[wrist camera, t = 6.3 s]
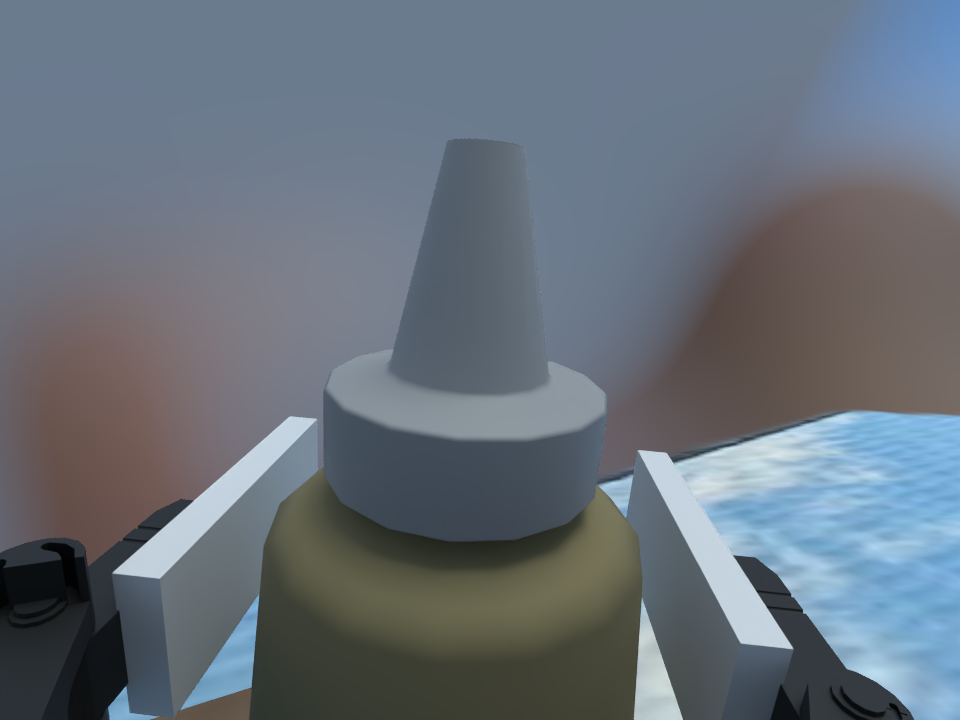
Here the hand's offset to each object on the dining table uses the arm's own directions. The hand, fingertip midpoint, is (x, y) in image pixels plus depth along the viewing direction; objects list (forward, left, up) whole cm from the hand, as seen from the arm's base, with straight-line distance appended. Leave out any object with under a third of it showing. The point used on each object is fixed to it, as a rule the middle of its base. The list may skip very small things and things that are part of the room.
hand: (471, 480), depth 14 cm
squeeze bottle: (-4, +2, -10) cm, 11 cm away
